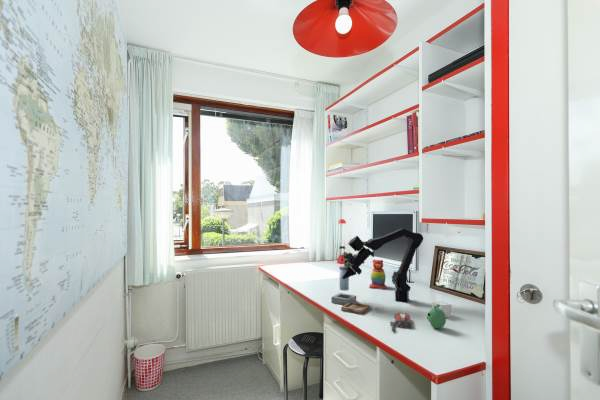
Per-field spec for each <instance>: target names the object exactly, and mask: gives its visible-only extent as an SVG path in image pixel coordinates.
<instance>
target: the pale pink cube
mask: <svg viewBox="0 0 600 400" xmlns="http://www.w3.org/2000/svg"><path fill="white" fill-rule="evenodd" d="M437 304H439V305H440V306H439V309H441V310H442V311H443V312H444V314H445V316H446V318H452V304H451V303H449V302H446V301H444V300H439V301H432V302H431V306H432V307H431V309H433V308H434V306H437ZM437 308H438V306H437Z"/></svg>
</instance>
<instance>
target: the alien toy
mask: <svg viewBox="0 0 600 400" xmlns="http://www.w3.org/2000/svg"><path fill="white" fill-rule="evenodd" d="M437 306H438V308H437ZM437 306H434V308H433V309H432V308H431V309H430V310H429V311H428V313H427V316H426V319H427V320H428V322H429V324H430V326H431V327H433V329H438V330H440V329H442V328H444V326H445V325H446V322H447V317H446V316H445V314H444V312H443V311H442V310H441V309H439V306H440V305H439V304H437Z"/></svg>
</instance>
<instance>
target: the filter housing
mask: <svg viewBox="0 0 600 400" xmlns="http://www.w3.org/2000/svg"><path fill="white" fill-rule="evenodd" d="M349 302H355V303H357V295H354V294H348V293H342V292H339V293H337V294H335V295H332V296H331V303H332V304H337V305H342V306H344V305H346V304H347V303H349Z"/></svg>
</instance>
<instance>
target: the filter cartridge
mask: <svg viewBox="0 0 600 400" xmlns="http://www.w3.org/2000/svg"><path fill="white" fill-rule="evenodd" d="M338 268H339V290H340V291H344V292H345V291H349V290H350V287H349V286H350V285H349V284H350V281H349V280H350V277H348V278H345V279H343V278H342V277H343V276H344V274H345V273H346V271H347V270H348V266H344V265H339V267H338Z"/></svg>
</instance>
